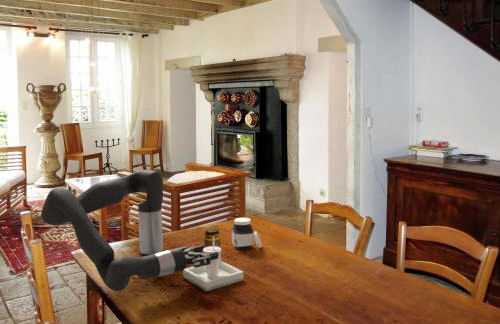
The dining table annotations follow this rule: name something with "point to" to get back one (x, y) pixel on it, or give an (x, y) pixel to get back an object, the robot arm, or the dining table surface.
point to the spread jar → (244, 234)
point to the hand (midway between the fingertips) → (210, 251)
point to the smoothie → (212, 261)
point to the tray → (224, 278)
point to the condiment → (209, 238)
